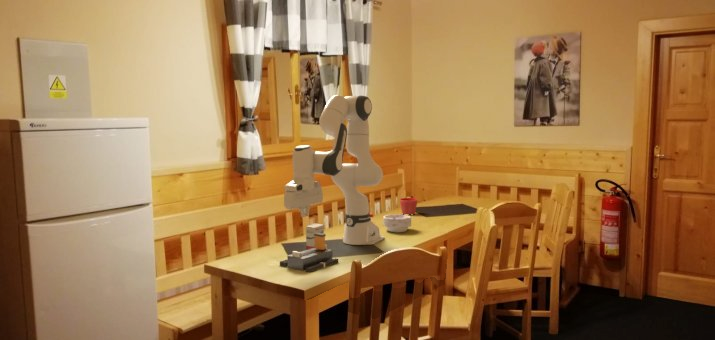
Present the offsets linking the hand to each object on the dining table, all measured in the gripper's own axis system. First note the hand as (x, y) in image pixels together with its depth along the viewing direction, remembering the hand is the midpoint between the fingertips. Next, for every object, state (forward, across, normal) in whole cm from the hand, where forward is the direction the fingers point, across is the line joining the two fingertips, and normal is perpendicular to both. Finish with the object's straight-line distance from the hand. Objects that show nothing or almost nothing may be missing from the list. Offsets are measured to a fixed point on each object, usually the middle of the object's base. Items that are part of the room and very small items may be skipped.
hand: (304, 216), depth 231 cm
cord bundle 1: (+20, +1, -4) cm, 21 cm away
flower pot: (+25, -118, -25) cm, 123 cm away
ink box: (+21, -18, -12) cm, 30 cm away
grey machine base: (+20, +1, +3) cm, 21 cm away
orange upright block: (+15, -5, +3) cm, 16 cm away
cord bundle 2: (+20, +1, +10) cm, 23 cm away
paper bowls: (+23, -75, -4) cm, 78 cm away
